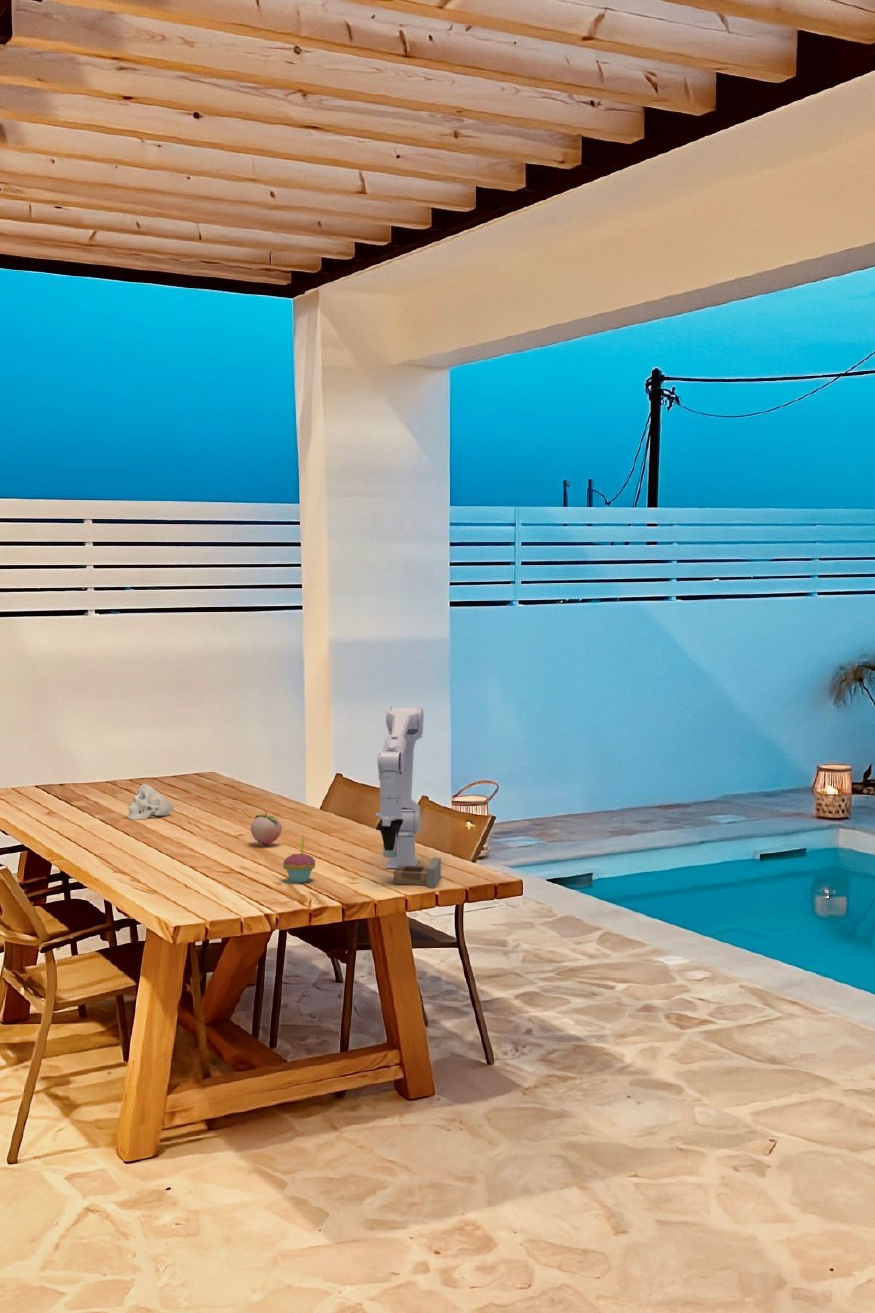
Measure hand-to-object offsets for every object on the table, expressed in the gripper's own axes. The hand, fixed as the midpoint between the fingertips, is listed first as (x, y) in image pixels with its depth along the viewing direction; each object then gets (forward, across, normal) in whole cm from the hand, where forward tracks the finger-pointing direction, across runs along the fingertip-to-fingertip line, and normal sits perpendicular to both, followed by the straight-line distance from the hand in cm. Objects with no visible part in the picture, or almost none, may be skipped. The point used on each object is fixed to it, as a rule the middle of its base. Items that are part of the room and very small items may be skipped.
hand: (390, 848), depth 346 cm
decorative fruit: (+9, -41, -44) cm, 61 cm away
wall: (+9, -2, +11) cm, 14 cm away
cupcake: (+9, +2, -24) cm, 25 cm away
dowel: (+2, 0, 0) cm, 2 cm away
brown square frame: (+9, -2, +6) cm, 11 cm away
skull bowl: (+10, -83, -94) cm, 126 cm away
